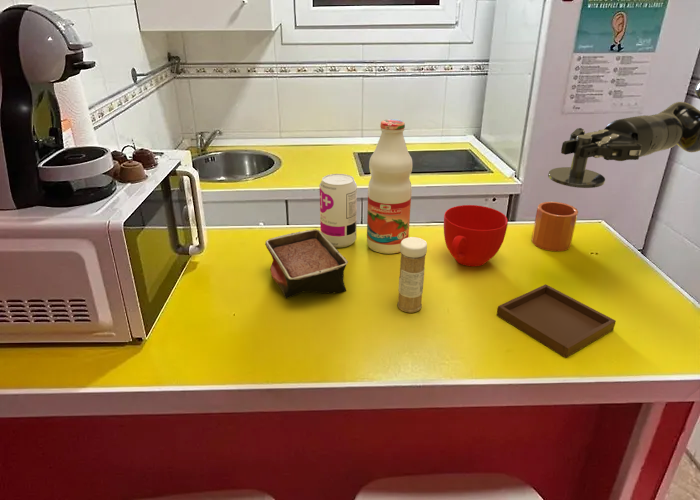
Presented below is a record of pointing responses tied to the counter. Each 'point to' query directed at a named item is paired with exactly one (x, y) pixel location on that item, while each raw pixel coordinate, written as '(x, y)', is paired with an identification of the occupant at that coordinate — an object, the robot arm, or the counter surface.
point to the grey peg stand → (577, 170)
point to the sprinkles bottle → (411, 274)
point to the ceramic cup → (474, 233)
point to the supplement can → (338, 209)
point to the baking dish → (306, 263)
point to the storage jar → (554, 226)
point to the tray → (556, 319)
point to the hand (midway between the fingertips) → (571, 150)
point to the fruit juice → (389, 190)
